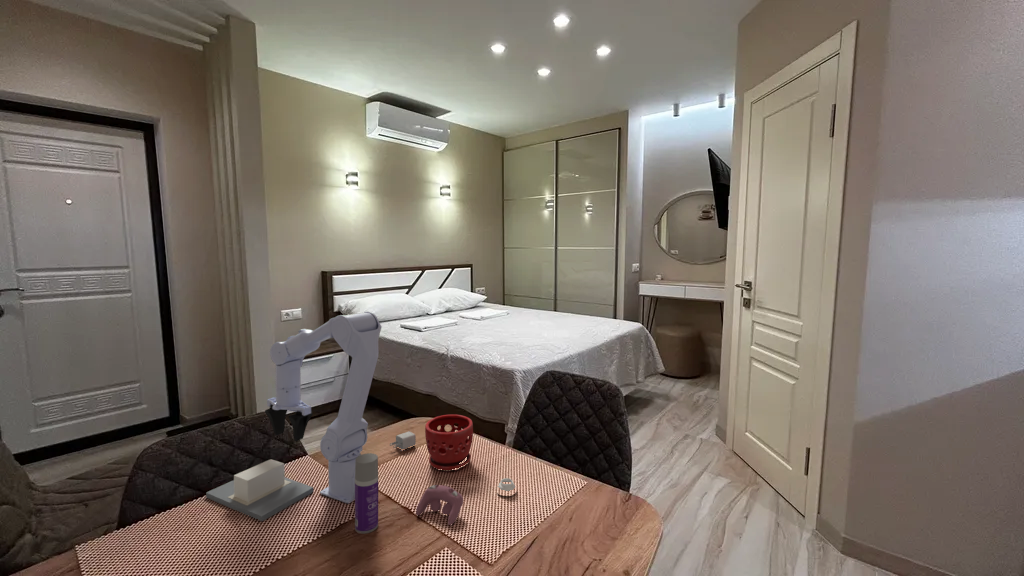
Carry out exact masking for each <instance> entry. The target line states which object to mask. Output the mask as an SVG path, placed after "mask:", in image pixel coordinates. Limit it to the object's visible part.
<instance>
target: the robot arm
mask: <svg viewBox="0 0 1024 576" xmlns="http://www.w3.org/2000/svg"><path fill="white" fill-rule="evenodd" d="M381 330H382V325H381V323H380V321H379V319H378V317H377V315H376V314H375V313H373V312H372V311H364V312H359V313H354V314H353V313H352V314H347V315H346V314H345V315H343V314H340V315H337V316H335V317H332V318H329V320H328V321H326V322H325V323H324V324H322V325H320V326H319V327H317V328H315V329H313V330H312V329H307V328H302V329H301V328H300V329H299V330H298V333H297V334H296V335H295V334H294V335H291V336H288V337H287V338H286V340H285V341H275V342H274V343H273V344H272V345H271V346H270V349H269V356H270V359H271V360H272V362H273V363H274V364H275V397H273V396H272V397H271V398H268V399H266V406H267V407H268V408H267V409H265V410H264V413H265V415H266V416H267V418H268V419H269V421H270V423H271V426H272V430H273V433H274V435H275V436H278V435H281V434H283V433H284V432H285V429H286V428H285V425H286V418H287V417H286V416H287V412H288V411H290V412H293V413H294V412H295V413H294V414H291V415H288V419H289V421H290V424H291V427H292V434H293V440H294V442H299V441H301V440H302V439H304V437H305V433H306V429H307V427H308V426H307V425H308V424H309V421H310V419H311V417H312V416H313V413H314V412H313V411H312V406H311V405H308V404H307V403H305V402H304V401H303V400H302V395H301V394H302V393H301V390H302V388H301V387H302V386H301V384H302V383H301V377H302V376H301V374H302V373H301V368H302V366H303V360H304V359H305V357H306V356H307V355H309V354H311V353H313V352H315V351H317V350H318V349H319V348H320V346H321V343H322V342H325V341H327V340H328V339H329V340H330V339H334V340H335V342H336V343H337V344H338V345H339V347H340V348H341V349H342V350H343V352H344V353H345V354H346V355H348V356H349V357H351V361H350V362H351V363H350V366H349V369H348V370H349V371H348V374H347V378H346V383H345V386H344V390H343V394H342V399H341V403H340V405H339V410H338V413H337V417H336V418H335V419H334V420H333V421H332V422H331V424H329V426H327V427H326V431H325V433H324V435H323V436H322V437H321V440H320V443H319V445H320V452H321V454H322V456H323V457H324V458H325V460H327V461H328V462H327V463H328V486H327V487H325V488H323V489H321V490H320V492H319V493H320V494H321V495H322V496H326V497H328V498H331V499H333V500H338V501H340V502H343V503H345V504H350V503H352V502H353V501H355V462H356V458H357V457H358V456H360V455H362V454H361V452H363V447H364V446H365V445H366V443H367V442H368V425H369V423H368V422H367V421H366V419H364V418H363V416H364V412H365V408H366V404H367V400H368V396H369V394H370V389H371V386H372V381H373V378H374V374H375V370H376V366H377V362H378V359H379V354H380V353H379V352H380V351H379V340H380V339H379V338H380V334H381Z"/></svg>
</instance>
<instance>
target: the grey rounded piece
mask: <svg viewBox="0 0 1024 576" xmlns="http://www.w3.org/2000/svg"><path fill="white" fill-rule="evenodd" d="M502 482H511V484H503V483H502ZM498 485H499V486H498ZM498 485H497V487H499V488H500V489H501V490H505V491H510V490H513V489H514V488H515V487H516V485H515V483H514V481H513V479H511V478H508V477H507V478H506V477H505V478H501V480H500V482H499V483H498Z"/></svg>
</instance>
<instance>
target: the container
mask: <svg viewBox="0 0 1024 576" xmlns="http://www.w3.org/2000/svg"><path fill="white" fill-rule="evenodd" d="M378 526H379V456H378V455H377V453H376V454H375V453H372V452H368V453H362V454H361V455H360V456H358V457H357V458H356V462H355V500H354V531H355V532H357V534H370V533H372V532H374V531H375V530H376V529H378Z"/></svg>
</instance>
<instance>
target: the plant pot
mask: <svg viewBox="0 0 1024 576" xmlns="http://www.w3.org/2000/svg"><path fill="white" fill-rule="evenodd" d="M455 424H457V427H456V426H455ZM448 425H449V426H450V427H451V429H450V430H449V431H447V430H446V429H445V428H446V426H448ZM439 426H440V429H439ZM424 427H425V428H424V430H425V431H424V432H425V433H424V434H425V442H426V443H425V444H426V449H427V451H428V454H429V457H428V462H429V464H430V466H431V465H432V466H433V467H432V468H434V467H435V468H437V469H442V470H452V469H455V468H459V467H461V466H463V465H465V464H466V463H468V462H469V463H470V461H471V453H470V451H471V448H472V445H473V437H474V425H473V420H472V419H471V418H470V417H468V416H465V415H461V414H443V415H438V416H435V417H433V418H431V419H429V420H428V421H427V422H426V423H425V425H424ZM466 457H467V460H466V461H465V462H464V463H462V464H459V463H460V462H462V461H463V460H464V459H465V458H466ZM469 463H468V464H469ZM435 468H434V469H435ZM437 469H436V470H437Z"/></svg>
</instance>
